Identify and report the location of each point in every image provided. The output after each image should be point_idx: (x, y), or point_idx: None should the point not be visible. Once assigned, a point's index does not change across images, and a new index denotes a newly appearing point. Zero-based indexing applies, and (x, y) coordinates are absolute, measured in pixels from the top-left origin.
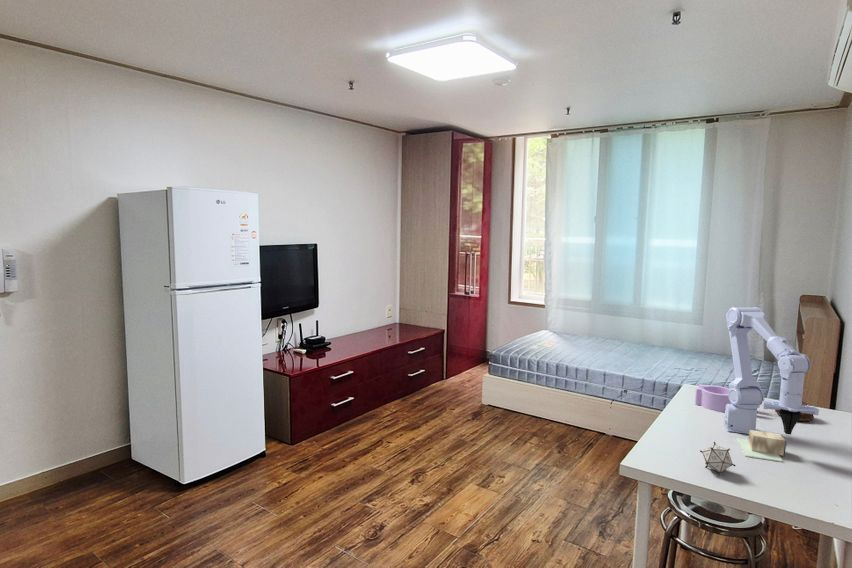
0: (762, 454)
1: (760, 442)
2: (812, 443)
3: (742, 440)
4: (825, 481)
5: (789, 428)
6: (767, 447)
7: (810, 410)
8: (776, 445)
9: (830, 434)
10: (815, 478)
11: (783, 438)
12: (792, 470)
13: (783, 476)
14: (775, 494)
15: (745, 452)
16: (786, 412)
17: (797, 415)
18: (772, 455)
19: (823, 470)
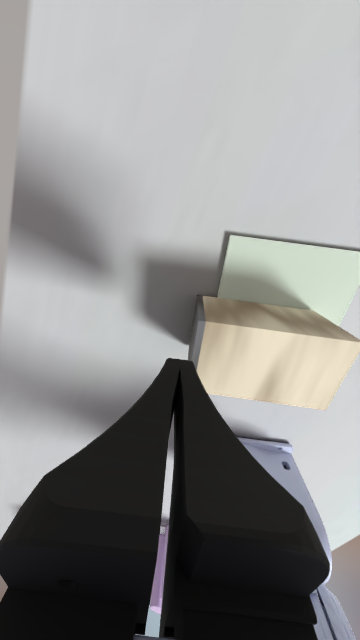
0: (286, 283)
1: (305, 323)
2: (71, 414)
3: None
4: (115, 20)
5: (176, 385)
6: (266, 311)
7: None
8: (236, 312)
9: (17, 467)
10: (153, 53)
11: (201, 347)
12: (228, 140)
13: (323, 12)
14: None
15: (350, 286)
16: (223, 605)
17: (70, 542)
18: (247, 284)
19: (89, 191)
